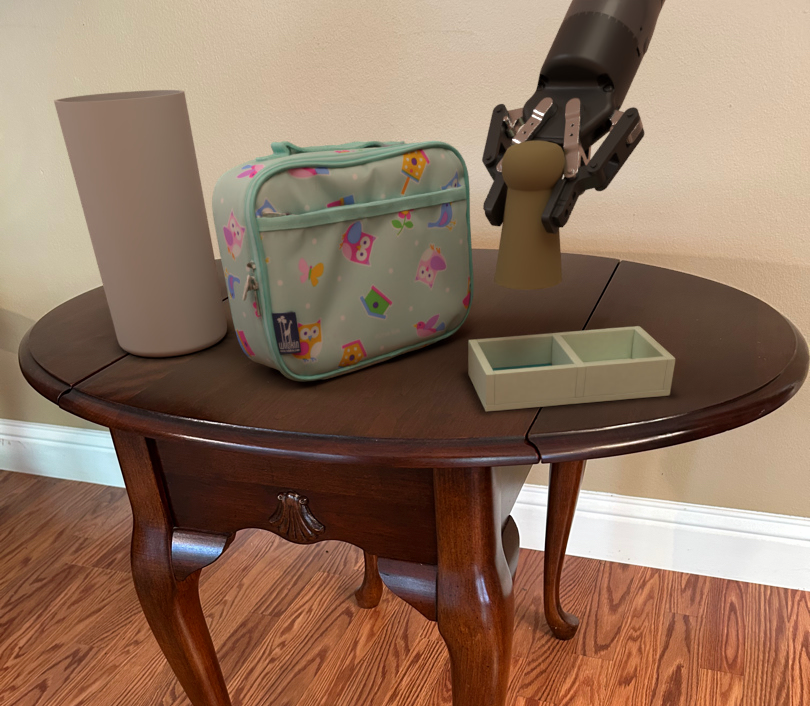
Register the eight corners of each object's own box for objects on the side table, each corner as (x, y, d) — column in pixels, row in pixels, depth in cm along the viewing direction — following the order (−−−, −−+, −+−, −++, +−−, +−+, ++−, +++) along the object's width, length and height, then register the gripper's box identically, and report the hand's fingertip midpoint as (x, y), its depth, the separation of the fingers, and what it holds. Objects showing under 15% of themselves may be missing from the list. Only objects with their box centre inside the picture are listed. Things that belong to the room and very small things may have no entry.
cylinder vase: (199, 362, 83) (144, 99, 69) (98, 357, 86) (26, 103, 72) (245, 324, 93) (205, 88, 79) (153, 321, 96) (99, 92, 82)
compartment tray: (635, 360, 78) (639, 325, 76) (669, 395, 71) (675, 358, 69) (468, 374, 77) (468, 339, 75) (485, 411, 70) (486, 374, 68)
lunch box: (272, 404, 73) (233, 158, 61) (226, 373, 80) (183, 147, 68) (482, 338, 86) (485, 122, 74) (426, 316, 93) (421, 116, 81)
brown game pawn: (541, 293, 64) (549, 149, 58) (481, 283, 68) (482, 145, 61) (574, 275, 68) (585, 138, 62) (515, 266, 71) (520, 135, 65)
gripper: (512, 11, 65) (431, 189, 64) (674, 3, 58) (584, 204, 57) (540, 78, 72) (467, 240, 71) (689, 79, 64) (609, 260, 63)
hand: (519, 223), depth 64 cm, fingers closed on brown game pawn, 5 cm apart
